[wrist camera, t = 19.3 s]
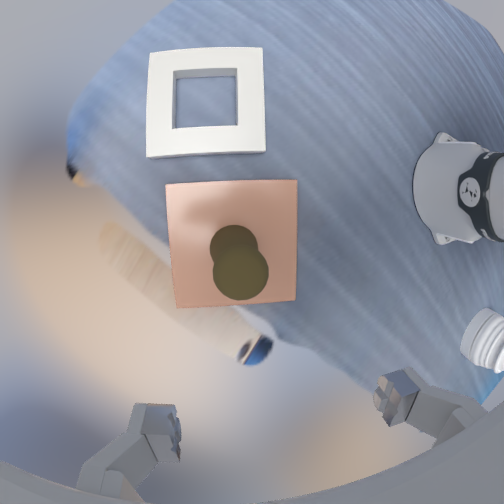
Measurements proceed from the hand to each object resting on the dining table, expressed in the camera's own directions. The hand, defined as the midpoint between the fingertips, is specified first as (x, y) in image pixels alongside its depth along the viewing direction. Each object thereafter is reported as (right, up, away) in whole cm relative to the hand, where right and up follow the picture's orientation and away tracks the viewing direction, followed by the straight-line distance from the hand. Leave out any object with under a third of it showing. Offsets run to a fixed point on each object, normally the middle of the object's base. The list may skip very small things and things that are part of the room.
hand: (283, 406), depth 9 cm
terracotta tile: (-3, +7, +26) cm, 27 cm away
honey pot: (+53, -13, +39) cm, 67 cm away
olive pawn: (-3, +6, +26) cm, 27 cm away
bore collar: (-7, +24, +21) cm, 33 cm away
